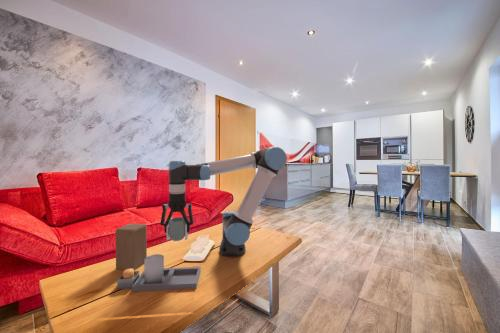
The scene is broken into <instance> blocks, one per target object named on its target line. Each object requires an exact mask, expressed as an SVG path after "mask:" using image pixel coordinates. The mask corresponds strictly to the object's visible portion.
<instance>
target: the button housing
mask: <svg viewBox="0 0 500 333" xmlns="http://www.w3.org/2000/svg"><path fill="white" fill-rule="evenodd" d="M139 277H140V271H139V270H134V276H133V277H132V278H123V273H122V274H121V275H120V276H119V277H118V278H117V279H116V282H117V283H116V284H117V290H130V289H131V290H132V286H133V285H134V283H135V282H136V281H137V279H138V278H139Z"/></svg>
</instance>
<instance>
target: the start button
mask: <svg viewBox="0 0 500 333" xmlns="http://www.w3.org/2000/svg"><path fill="white" fill-rule="evenodd" d="M134 271H135V270H134V269H132V268H130V269H126V270H123V271H122V274H123V278H132V277H133V276H134Z"/></svg>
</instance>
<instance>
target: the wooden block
mask: <svg viewBox="0 0 500 333" xmlns="http://www.w3.org/2000/svg"><path fill="white" fill-rule="evenodd" d="M147 228H148V227H147V224H145V223H133V222H132V223H128V224H125V225H122V226H120V227H118V228H116V229H115V269H116V270H118V271H119V270H123V271H124V270H126V269H130V268H132V269H134V271H137V269H138V268H140V267H142V266H143V265H144V259H145V258H146V257H148V253H147V251H148V250H147V246H148V245H147V237H148V236H147V233H148V232H147Z"/></svg>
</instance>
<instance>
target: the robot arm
mask: <svg viewBox="0 0 500 333" xmlns="http://www.w3.org/2000/svg"><path fill="white" fill-rule="evenodd" d="M287 159H288V156H287V154H286V152H285V150H284V149H283V148H281V147H278V146H271V147H266V148H262V149H260V150H257V151H253V152H250V154H247V155H241V156H237V157H236V156H235V157H230V158H225V159H220V160H215V161H210V162H209V161H208V162H204V163H198V164H187V163H186V161H185V160H171V161H169V163H168V192H169V194H168V203H167V204H166V203H164V204H162V205H161V206H162V211H161V218H160V223H159V225H160V226H163V227H164V233H165V234H166V241H169V240H171V239H170V236H169V220H170V219H171V218H173V217H172V216H173V215H174V213H176V212H177V213H179V214H181V217H183V218H184V220H185V223H186V226H185V237H184V240H185V241H187V240H188V238H189V233H190V231H191V226H192V225H194V223H195V221H194V214H193V210H192V207H193V204H192V203H187V202H186V181H208V180H210V179H211V176H215V175H221V174H226V173H230V172H235V171H241V170H246V169H251V168H252V169H257V171H256V172H255V175H254V177H253V179H252V181H251V183H250V184H249V187H248V188H247V191H246V193H245V195H244V197H243V199H242V201H241V203H240V205H239V206H238V209H237V210H236V211H235V210H233V211H232V210H231V211H230V210H229V211H225V212H223V213H222V217H221V218H222V238H221V242H220V243H219V244H220V245H219V249H218V250H219V254H220V255H221V256H223V257H232V258H233V257H239V256H242V255H244V254H245V253H246V245H245V244H246V243H247V241H249V238H250V237H251V231H250V229H251V228H252V226H253V224H254V220H253V217H254V215H255V214H256V211H257V209H258V207H259V205H260V204H261V202H262V199H263V198H264V195H265V194H266V191H267V189H268V188H269V186H270V183H271V181H272V179H273V178H274V177H276V176H277V175H278V174H279V172H280V170H281V169H283V168H284V167H285V166H286V164H287V161H288V160H287ZM168 208H169V209H170V211H169V213H168V216H167V218H166V215H167V210H168ZM185 208H186V209H187V211H188V215H187V213H186V210H185ZM188 217H189V218H188Z"/></svg>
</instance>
